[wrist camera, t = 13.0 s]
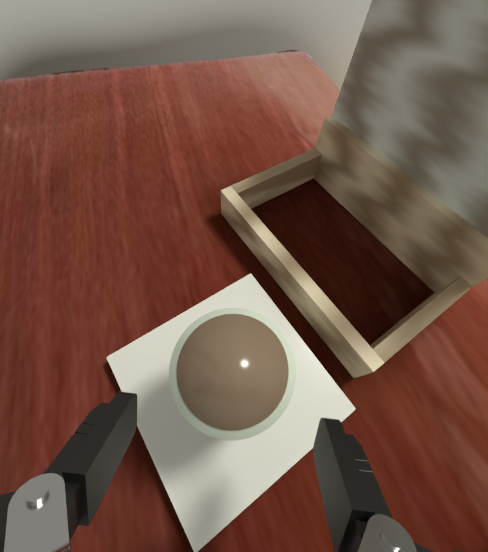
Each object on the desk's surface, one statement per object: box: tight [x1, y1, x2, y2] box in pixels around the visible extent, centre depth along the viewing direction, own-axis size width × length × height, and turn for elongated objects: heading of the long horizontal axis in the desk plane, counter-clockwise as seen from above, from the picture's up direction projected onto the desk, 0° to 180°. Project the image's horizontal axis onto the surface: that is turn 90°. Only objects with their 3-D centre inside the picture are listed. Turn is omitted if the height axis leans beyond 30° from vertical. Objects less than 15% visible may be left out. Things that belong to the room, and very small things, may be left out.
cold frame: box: [221, 0, 488, 378], centre depth 18 cm, size 21×14×24 cm
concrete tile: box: [106, 274, 355, 552], centre depth 22 cm, size 14×14×1 cm
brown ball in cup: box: [169, 308, 296, 440], centre depth 17 cm, size 6×6×8 cm
